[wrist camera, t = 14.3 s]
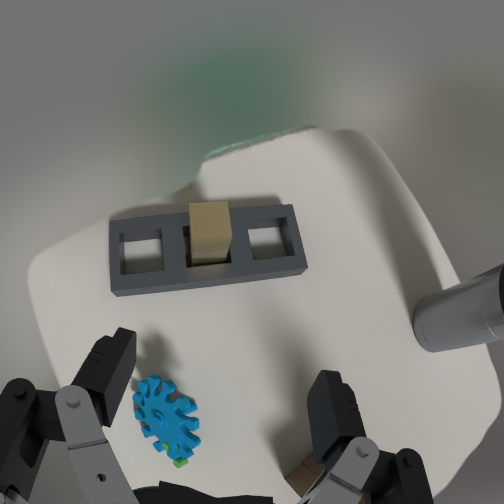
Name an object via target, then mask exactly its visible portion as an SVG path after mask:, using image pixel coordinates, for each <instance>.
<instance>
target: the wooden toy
mask: <svg viewBox="0 0 504 504" xmlns="http://www.w3.org/2000/svg"><path fill="white" fill-rule="evenodd" d="M324 469H325V466H324V464H315V458H314V452H313V453H312V454H310V455H309V456H308V457H307V458H306V459H305V460H304V461H303V464H301V465H300V466H299V467H298V468H297V469H296V470H294V471H293V472H292V473H291V474H290V475H288V476H287V477H286V478H285V480H286V481H287V483H288V484H289V485H290V486H291V487H292V488H293V489H294V491H295V492H296V493H297V494H298V495H299V496H300V497H301V498H303V496H304V495H305V494H306V493H307V491H308V490H309V489H310V487H311V486H312V485H313V484H314V482H315V481H316V480H317V478H318V477H319V476H320V474H321V473H322V472H323V470H324ZM362 493H363V494H362V497H361V499H360V501H359V503H358V504H365V500H364V492H362Z"/></svg>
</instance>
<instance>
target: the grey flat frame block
mask: <svg viewBox="0 0 504 504" xmlns="http://www.w3.org/2000/svg"><path fill="white" fill-rule="evenodd" d="M229 215H230V223H231V230H232V239H231V243H230V246H229V250H228V253H227V258H228V263H226V264H217V265H209V266H200V267H191V268H187V266H186V258H185V248H184V239H183V236H187V235H189V212H188V213H178V214H168V215H159V216H150V217H141V218H132V219H124V220H116V221H110V226H109V251H110V284H111V292H112V293H113V294H114V295H116V296H117V297H120V296H130V295H140V294H149V293H159V292H168V291H177V290H185V289H194V288H203V287H211V286H219V285H227V284H235V283H243V282H251V281H258V280H266V279H273V278H281V277H288V276H295V275H301V274H302V273H303V272H304V271H305V270H306V269H307V268H308V265H307V261H306V257H305V253H304V249H303V245H302V241H301V237H300V233H299V229H298V225H297V221H296V217H295V213H294V209H293V205H292V204H288V205H273V206H259V207H245V208H233V209H229ZM270 227H281V232H282V236H283V240H284V245H285V249H286V254H287V257H278V258H270V259H261V260H253V256H252V250H251V245H250V240H249V234H248V229H259V228H270ZM159 238H162V244H163V256H164V268H165V270H164V271H155V272H145V273H136V274H127V275H125V258H124V242H132V241H141V240H150V239H159Z"/></svg>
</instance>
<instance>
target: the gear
mask: <svg viewBox="0 0 504 504" xmlns="http://www.w3.org/2000/svg"><path fill="white" fill-rule="evenodd" d="M160 384H161V378H160V377H158V376H156V375H152V376H148V380H144V381H140V382H138V383H137V386H138V389H139V390H140V392H136V393H134V395H133V400H134V402H135V403H137V404H138V405H139V406H140V407H141V408H140V409H136V410H135V418H136V419H137V420H142V421H144V422H145V423H147V424H148V425H149V426H146V427H143V428H142V432H143V434H144V436H145V437H146V438H147V437H150V436H152V435H155V436H157V437H158V439H159V441H157V442H154V443H153V446H154V447H155V449H156V450H157V451H158V452H161V451H163V450H166V451H167V455H168V456H169V457H170V458H171V459H174V461H173V463H174V465H175V466H176V467H177V468H180V467H182V466H183V465H185V464H187V463H188V460H187V458H189V457H191V456H192V455H194V453H193V451H192V450H191V449H193V448H195V447H197V446H198V445H199V444H200V443H201V440H200V439H199V438H198V437H197V436H195V435H193V434H192V433H191V432H190V431H195V430H197V429H199V419H198V418H196V417H188V416H186V414H189V413H191V412H193V411H195V410H197V405H196V404H195V403H190V401H189V399H188V397H187V396H183V397H180V398H178V399H177V400H176V401H172V400H171V399H170V397H169V394H170V393H173V392H175V391H176V389H177V387H176V386H175V384H174V383H173V382H172V381H171V380H168V381H165V382H163V383H162V391H161V393H159V391H158V387H159V385H160ZM149 388H150V392H149ZM188 429H189V430H190V431H189V430H188Z"/></svg>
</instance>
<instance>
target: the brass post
mask: <svg viewBox="0 0 504 504" xmlns="http://www.w3.org/2000/svg"><path fill="white" fill-rule="evenodd" d="M189 237H190V252H191V263H192V267H200V266H209V265H217V264H225V260H226V257H227V253H228V250H229V246H230V243H231V239H232V230H231V223H230V215H229V208H228V201H215V202H199V203H189Z"/></svg>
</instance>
